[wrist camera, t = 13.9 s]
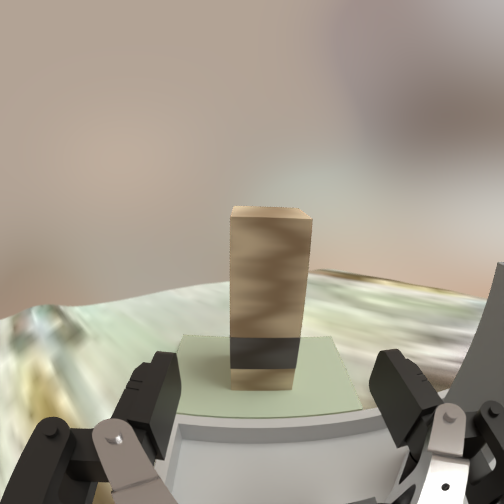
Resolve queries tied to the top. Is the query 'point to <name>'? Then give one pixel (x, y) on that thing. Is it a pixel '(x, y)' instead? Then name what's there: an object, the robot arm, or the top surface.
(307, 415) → the pad
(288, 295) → the banded wooden block
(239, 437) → the parts tray
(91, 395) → the top surface
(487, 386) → the slate box
